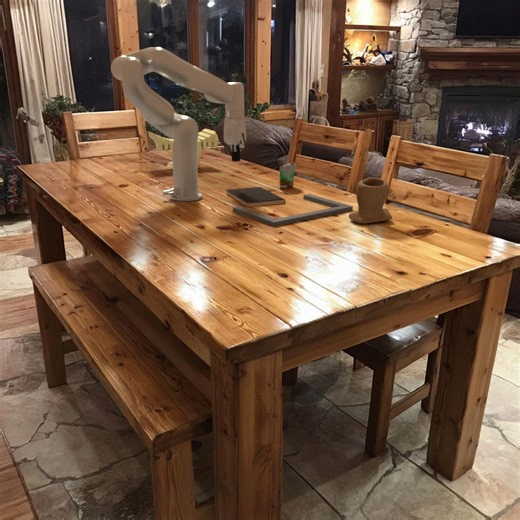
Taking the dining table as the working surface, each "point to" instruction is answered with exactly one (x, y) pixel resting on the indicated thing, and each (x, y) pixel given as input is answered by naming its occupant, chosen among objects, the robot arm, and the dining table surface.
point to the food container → (287, 175)
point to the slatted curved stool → (204, 140)
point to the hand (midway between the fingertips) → (236, 160)
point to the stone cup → (371, 201)
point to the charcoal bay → (300, 217)
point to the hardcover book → (255, 196)
